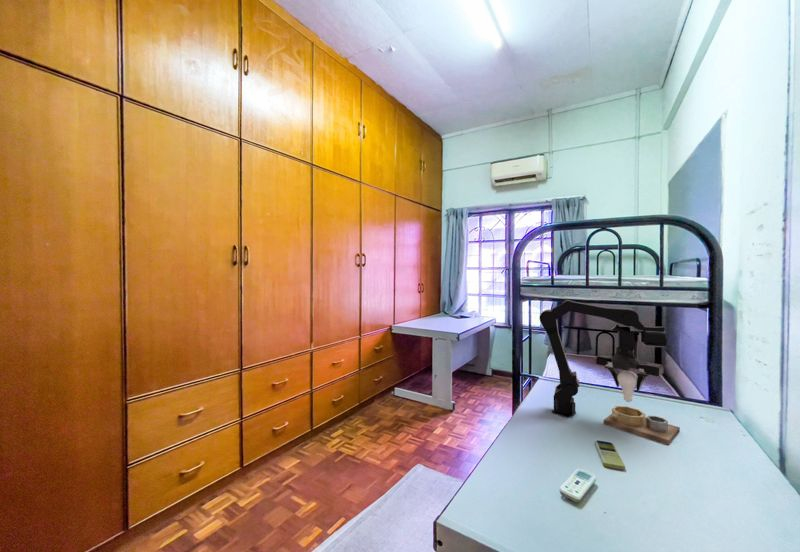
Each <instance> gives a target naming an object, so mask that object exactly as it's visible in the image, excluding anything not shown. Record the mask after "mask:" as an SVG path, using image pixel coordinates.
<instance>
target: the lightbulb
mask: <svg viewBox="0 0 800 552" xmlns="http://www.w3.org/2000/svg"><path fill="white" fill-rule="evenodd" d="M619 372H620V373H619V374H618V376H617V379H618V382H619V386H620V387H621V390H622V391H621V392H622V395H623V400H624V401H625V402H626V403H630V402H633V399H634V398H633V397H634V392H635V390H636V389H637V378H638V376H637V373H635V372H633V371H632V370H630V369H629V370H627V371H625V370H621V371H619Z"/></svg>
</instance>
